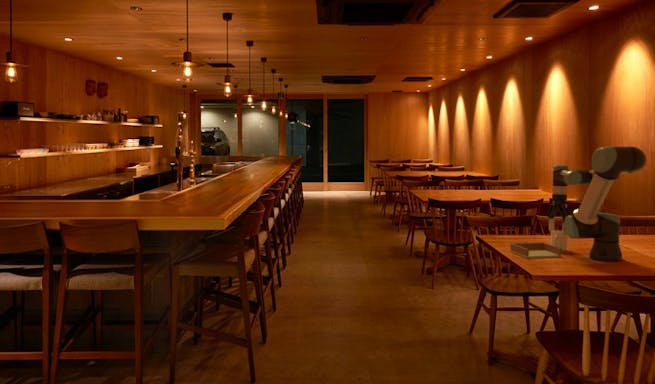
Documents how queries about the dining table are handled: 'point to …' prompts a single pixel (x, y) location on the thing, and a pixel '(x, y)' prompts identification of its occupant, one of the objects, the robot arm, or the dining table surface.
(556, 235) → the mug
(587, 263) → the dining table surface
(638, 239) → the dining table surface
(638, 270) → the dining table surface
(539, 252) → the shallow square tray
